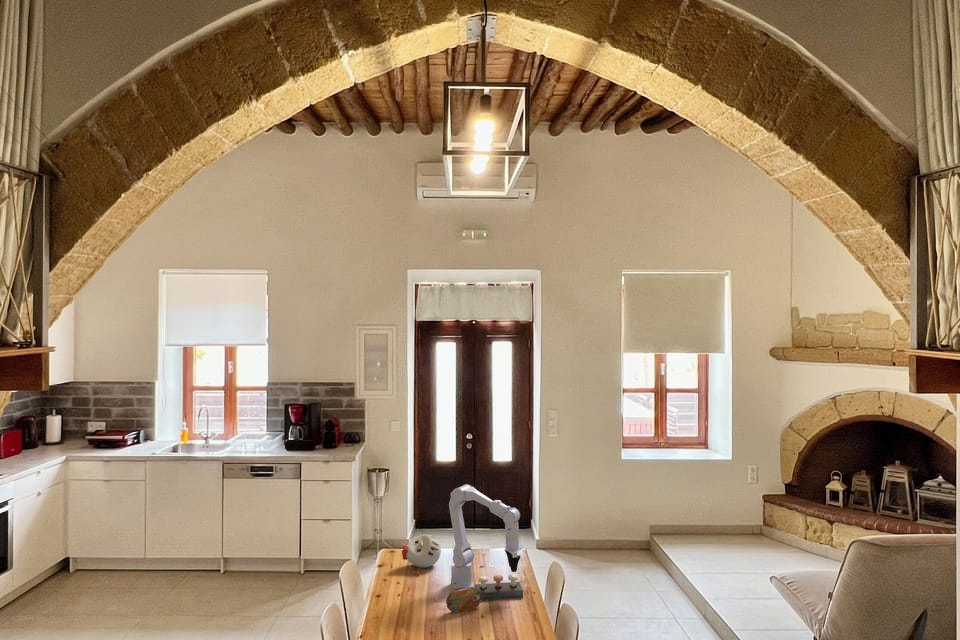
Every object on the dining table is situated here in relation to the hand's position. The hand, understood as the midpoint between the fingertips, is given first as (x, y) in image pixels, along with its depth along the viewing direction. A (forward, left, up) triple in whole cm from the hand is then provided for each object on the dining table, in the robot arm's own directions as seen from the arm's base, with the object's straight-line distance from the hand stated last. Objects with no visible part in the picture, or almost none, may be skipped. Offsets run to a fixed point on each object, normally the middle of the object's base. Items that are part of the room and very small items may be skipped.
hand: (512, 569), depth 283 cm
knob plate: (-7, 0, -10) cm, 12 cm away
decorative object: (-40, +40, -11) cm, 57 cm away
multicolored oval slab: (-23, -14, -11) cm, 29 cm away
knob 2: (0, 0, -7) cm, 7 cm away
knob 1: (-13, 0, -7) cm, 15 cm away
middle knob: (-6, 0, -7) cm, 10 cm away
